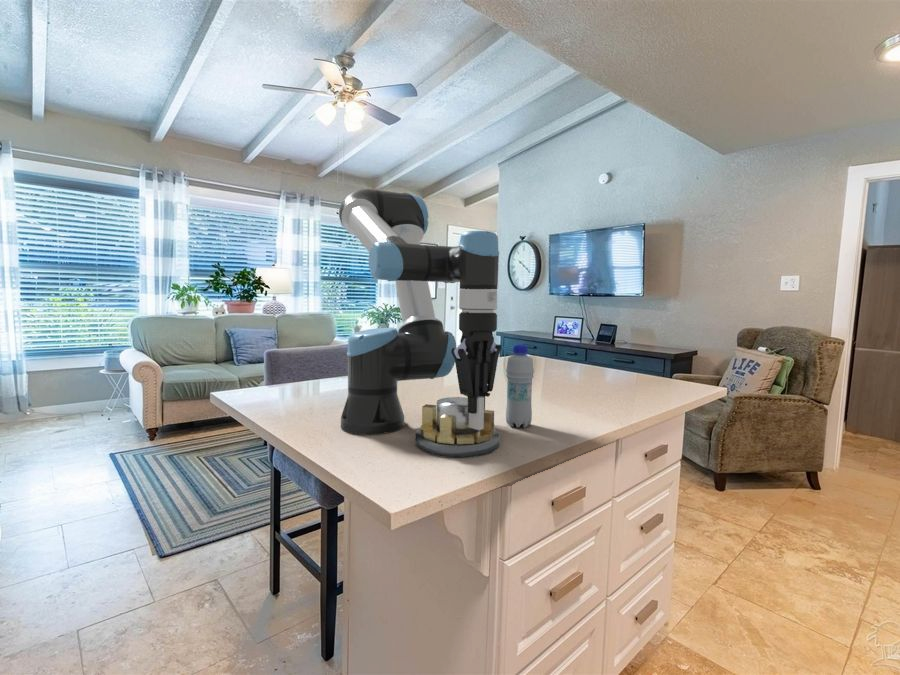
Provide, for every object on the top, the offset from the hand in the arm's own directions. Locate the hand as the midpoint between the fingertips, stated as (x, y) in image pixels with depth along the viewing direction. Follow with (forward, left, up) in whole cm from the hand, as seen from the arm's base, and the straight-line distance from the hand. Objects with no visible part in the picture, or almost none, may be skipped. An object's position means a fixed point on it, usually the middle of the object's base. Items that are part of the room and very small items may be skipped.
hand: (476, 427), depth 92 cm
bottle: (+5, +22, -5) cm, 23 cm away
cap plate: (-5, +4, -5) cm, 8 cm away
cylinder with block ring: (-5, +4, -3) cm, 7 cm away
